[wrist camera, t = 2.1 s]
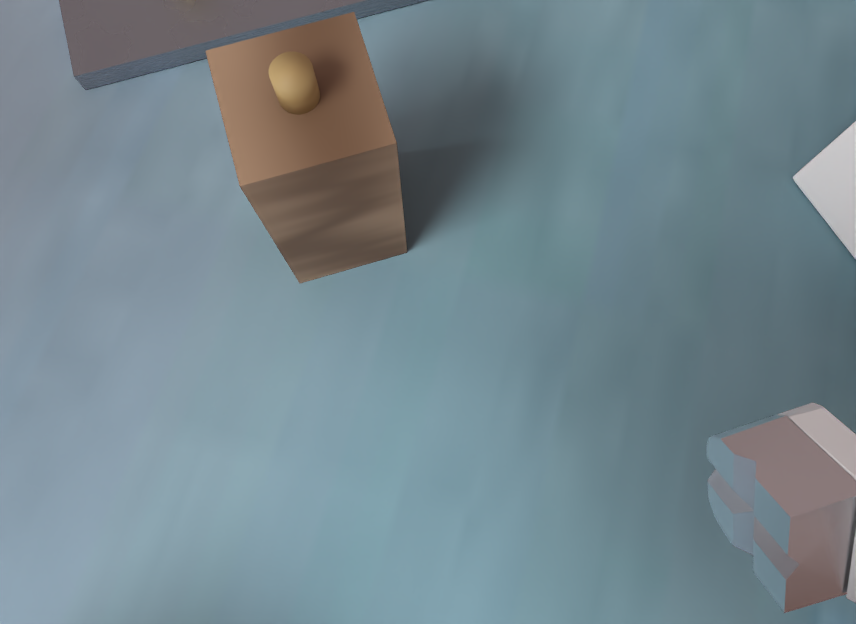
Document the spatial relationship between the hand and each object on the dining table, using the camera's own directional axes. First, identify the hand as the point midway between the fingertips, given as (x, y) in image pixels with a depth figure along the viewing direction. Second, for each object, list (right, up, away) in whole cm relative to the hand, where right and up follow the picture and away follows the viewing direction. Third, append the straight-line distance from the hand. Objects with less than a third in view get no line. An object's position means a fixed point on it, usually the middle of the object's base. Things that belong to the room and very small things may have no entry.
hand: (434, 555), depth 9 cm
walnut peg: (-4, +7, +19) cm, 21 cm away
